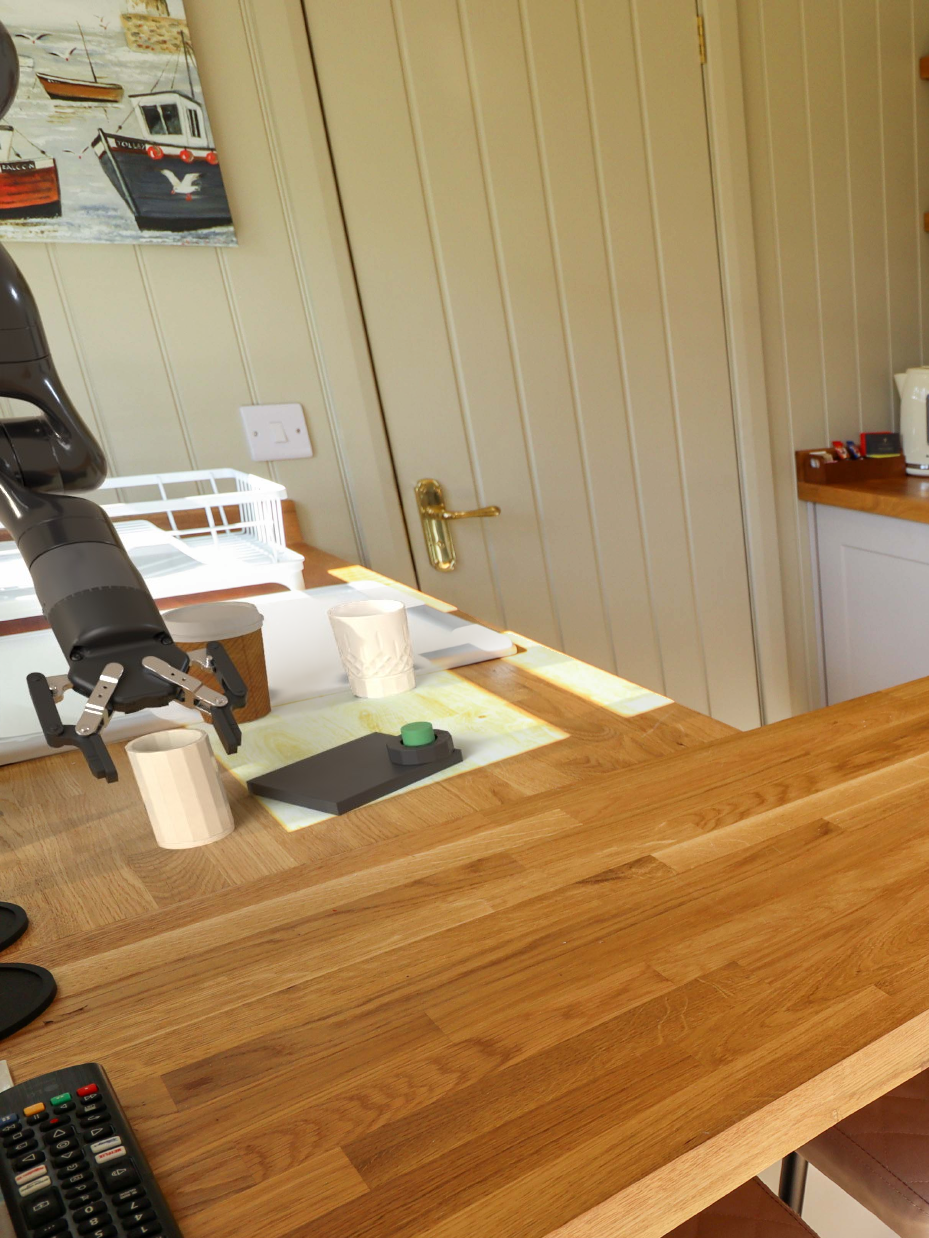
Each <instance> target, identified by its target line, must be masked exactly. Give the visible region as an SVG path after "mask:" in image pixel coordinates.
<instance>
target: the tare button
mask: <svg viewBox="0 0 929 1238" xmlns="http://www.w3.org/2000/svg"><path fill="white" fill-rule="evenodd" d="M433 729H434V726H433V724H432V723H431V722H430V721H413V722H409V723H405V724H404V725H402V726H401V727H400V734H402V738H403V743H404V745H406V746H419V745H423V744H428V743H431V742H433V741H435V736H434V731H433Z"/></svg>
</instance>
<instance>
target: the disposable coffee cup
mask: <svg viewBox="0 0 929 1238" xmlns="http://www.w3.org/2000/svg"><path fill="white" fill-rule="evenodd" d="M161 616H162V618H163V620H164V622H165V624H166V626H167V628H168V630H169V633H170V635H171V637H172V639H173V641H174V643H175V644H176V645H177V646H178V647H179V648H180V649H181V650H183V651H185V652H190V651H194V650H199V649H203V648H206V644H207V643H208V642H210V641H218V642H220V643H221V644H222V645H223V647H224V649H225V650H226V652H227V654H228V655H229V657H230V659H231V661H232V662H233V664H234V666H235V667H236V669H237V671H238V672H239V674H240V676H241V678H242V679H243V681H244V683H245V684H246V686H247V688H248V694H247V705H246V707H244V708H237V709H235V710H234V711H232V714H233V716H234V718H235V720H236V722H237V724H238V725H241V724H245V723H250V722H254V721H256V720H259V719H262V718H264V717H267V716H268V715H269V714H270V713H271V712H272V707H271V706H272V705H271V698H270V689H269V688H270V687H269V681H268V671H267V665H266V655H265V646H264V638H263V630H262V628H263V625H264V621H265V616H264V615H263V614H262V613H260V611H259V609H258V607H257V606H256V605H255V604H254V603H252V602H247V601H235V600H232V601H213V602H204V603H197V604H190V605H186V606H180V607H177V608H173V609H171V610H168V611H166V612H163V613H161ZM188 675H190V676H192V677H194V678H196V679H198V680H199V681H201V682H202V683H203V685H204V686H206V687H208V688H210V689H212V690H214V691H216V692H218V693H220V694H223V693H225V692H224V691H223V689H222V687H221V686H220V684H219V682H218V680H217V679H216V677H215V675H214V674H213V672H212V673H207V672H204V671H203V670H202V669H201V668H200V667H198V666H190V670H189V672H188ZM199 714H200V716H201V717H202V719H203V722H204V723H205V724H208V725H211V726H213V724H212V722H211V716H209V715H207V714H205V713H203V712H201V711H199Z"/></svg>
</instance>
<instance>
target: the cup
mask: <svg viewBox="0 0 929 1238" xmlns="http://www.w3.org/2000/svg"><path fill="white" fill-rule="evenodd" d="M124 750H125V753H126V756H127V759H128V762H129V765H130V767H131V771H132V775H133V777H134V779H135V783H136V785H137V789H138V791H139V794H140V799H141V801H142V804H143V806H144V810H145V812H146V815H147V818H148V822H149V824H150V827H151V830H152V833H153V837H154V838H155V840H156V844H157V845H158V847H160V848H162V849H167V850H184V849H192V848H197V847H202V846H206V845H209V844H211V843H215V842H218V841H220V840H222V839H224V838H226V837H228V836H229V835H230V834H232V833H233V832H234V831H235V828H236V824H235V820H234V817H233V813H232V810H231V807H230V802H229V800H228V797H227V793H226V789H225V786H224V783H223V780H222V777H221V773H220V770H219V767H218V763H217V759H216V756H215V753H214V750H213V747H212V743H211V741H210V736H209V734H208V732H207V731H206V730H204V729H199V728H190V727H188V728H187V727H185V728H174V729H165V730H160V731H157V732H152V733H148V734H145V735H142V736H139V737H137V738H135V739H133V740H131V741H129V742H127V744H126V745H125V746H124Z"/></svg>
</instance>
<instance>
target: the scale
mask: <svg viewBox="0 0 929 1238" xmlns="http://www.w3.org/2000/svg"><path fill="white" fill-rule="evenodd" d="M433 731H434V736H435V741H433V742H431V743H428V744H423V745H419V746H406V745H404V743H403V738H402V734H401V733H400V734H397V735H394V734H389V733H384V732H380V731H373V732H370V733H368V734H366V735H363V736H361V737H358V738H355V739H352V740H350V741H347V742H345V743H341V744H338V745H337V746H334V747H331V748H329V749H326V750H323V751H321V752H318V753H316V754H313V755H311V756H307V757H305V758H303V759H300V760H297V761H295V762H293V763H292V762H291V763H289V764H286V765H284V766H281V767H279V768H277V769H274V770H271V771H268V772H265V773H263V774H261V775H258V776H256V777H253V778H251V779H248V780H246V781H245V784H246V787H247V790H248V794H250V795H253V796H258V797H261V798H265V799H269V800H273V801H278V802H280V803H284V804H289V805H293V806H296V807H297V806H298V807H301V808H305V809H308V810H313V811H317V812H321V813H324V814H329V815H333V816H337V817H341V816H344V815H345V814H347V813H350V812H352V811H354V810H356V809H358V808H361V807H363V806H366V805H368V804H370V803H372V802H375V801H377V800H379V799H381V798H383V797H386V796H388V795H390V794H392V793H395V792H397V791H400V790H402V789H404V788H406V787H408V786H411V785H413V784H416V783H417V782H419V781H422V780H424V779H427V778H428V777H431V776H433V775H435V774H438V773H440V772H443V771H445V770H447V769H449V768H452V767H454V766H456V765H459V764H460V763H463V762H464V758H463V753H462V749H460V748H455V744H454V738H453V735H452V734H451V733H450V732H449V731H448V730H445V729H440V728H433Z"/></svg>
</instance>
